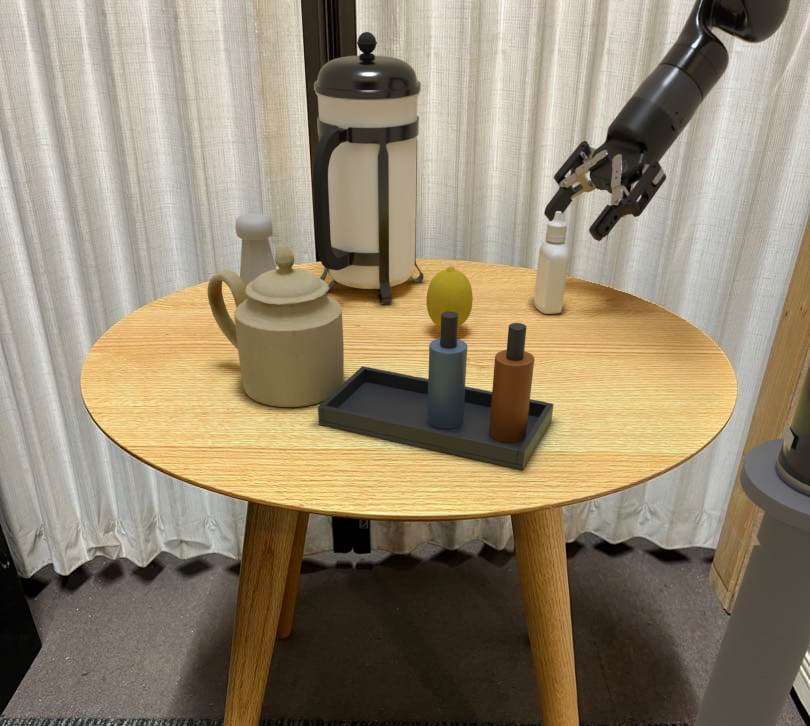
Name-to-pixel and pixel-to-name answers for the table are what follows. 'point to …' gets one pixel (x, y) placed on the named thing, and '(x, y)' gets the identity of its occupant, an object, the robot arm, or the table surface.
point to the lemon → (449, 295)
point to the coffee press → (367, 170)
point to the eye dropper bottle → (552, 268)
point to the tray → (407, 417)
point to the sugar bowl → (283, 333)
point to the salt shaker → (254, 245)
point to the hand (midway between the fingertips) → (570, 227)
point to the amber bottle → (511, 388)
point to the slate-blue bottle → (447, 375)
